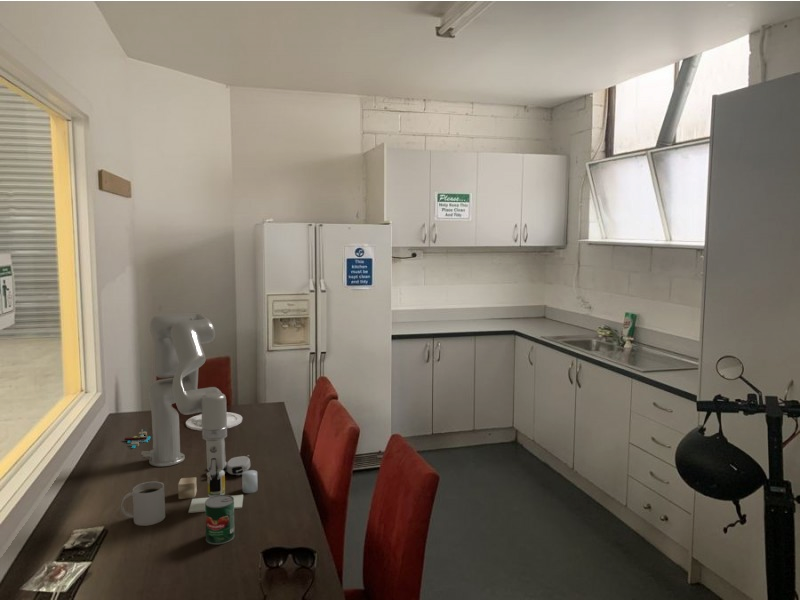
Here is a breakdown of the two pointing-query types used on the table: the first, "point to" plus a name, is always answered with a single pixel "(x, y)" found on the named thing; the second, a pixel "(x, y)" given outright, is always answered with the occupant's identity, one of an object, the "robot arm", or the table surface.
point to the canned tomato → (219, 519)
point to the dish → (196, 421)
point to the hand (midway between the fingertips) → (216, 486)
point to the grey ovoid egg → (249, 481)
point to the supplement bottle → (222, 481)
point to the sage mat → (199, 503)
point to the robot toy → (237, 465)
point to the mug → (147, 503)
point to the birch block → (187, 488)
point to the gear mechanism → (139, 437)
